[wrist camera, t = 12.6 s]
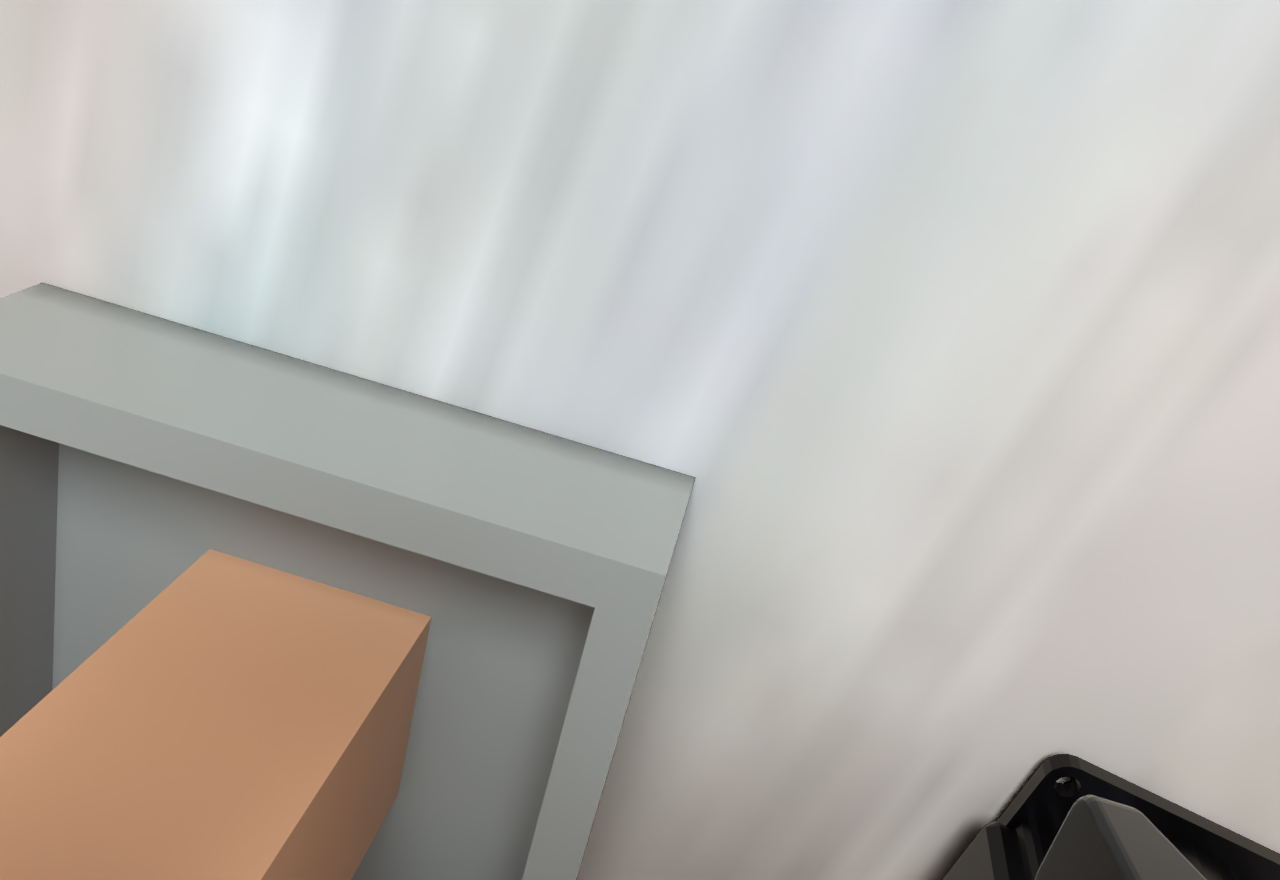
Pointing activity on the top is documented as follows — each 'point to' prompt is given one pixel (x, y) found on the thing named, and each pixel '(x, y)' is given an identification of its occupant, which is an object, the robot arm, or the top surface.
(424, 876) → the tray
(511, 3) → the top surface
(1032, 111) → the top surface
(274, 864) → the peach block
